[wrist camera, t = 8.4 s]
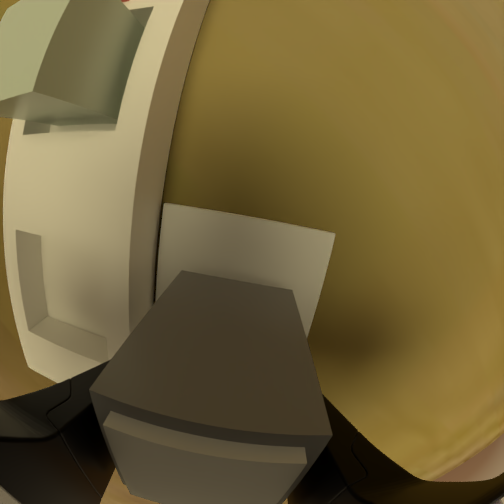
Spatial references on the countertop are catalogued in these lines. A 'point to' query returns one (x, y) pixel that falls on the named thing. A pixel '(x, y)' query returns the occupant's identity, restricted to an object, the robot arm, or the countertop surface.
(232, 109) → the countertop surface
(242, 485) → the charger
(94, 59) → the lamp plug
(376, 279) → the countertop surface
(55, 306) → the power strip
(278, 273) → the rubber pad
